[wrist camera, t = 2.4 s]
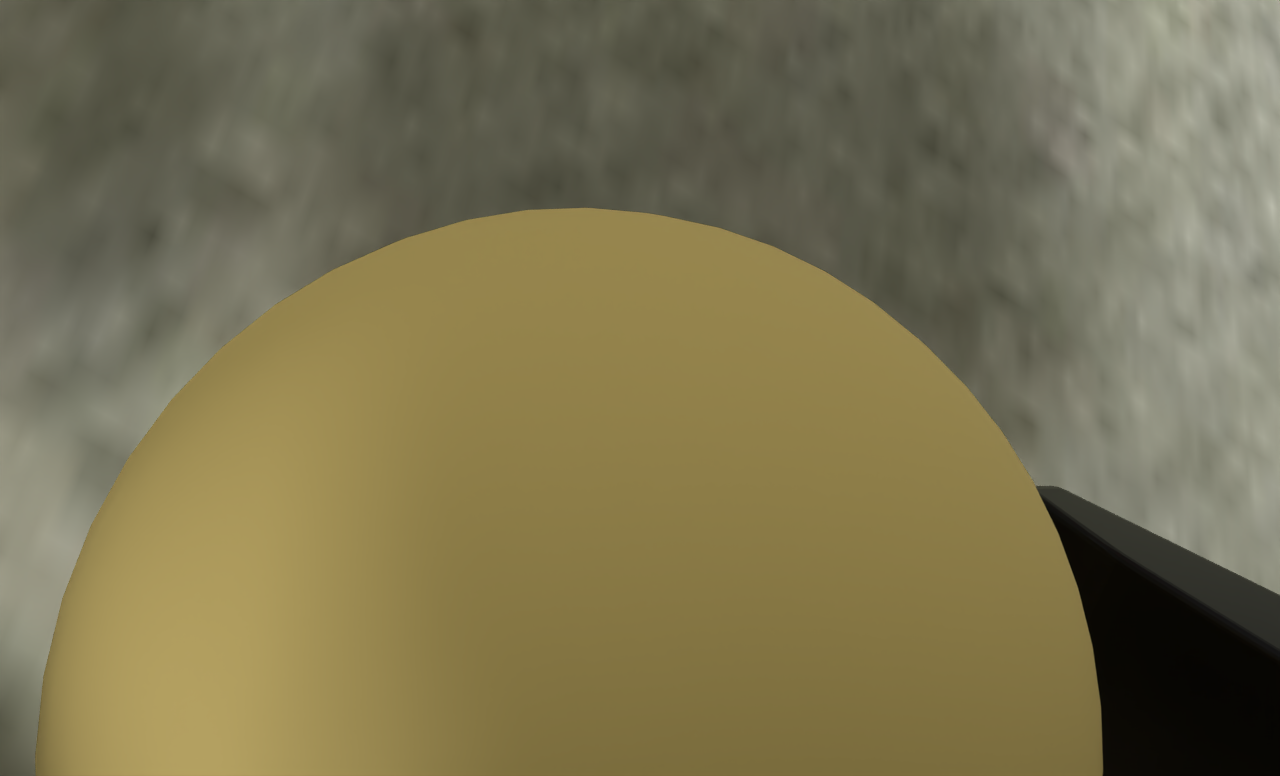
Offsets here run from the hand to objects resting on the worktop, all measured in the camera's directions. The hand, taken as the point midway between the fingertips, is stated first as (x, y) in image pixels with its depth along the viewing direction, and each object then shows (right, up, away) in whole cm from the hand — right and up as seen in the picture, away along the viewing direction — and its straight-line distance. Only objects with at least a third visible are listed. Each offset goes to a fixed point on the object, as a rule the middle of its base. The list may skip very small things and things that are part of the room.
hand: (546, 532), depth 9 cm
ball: (0, -1, -1) cm, 2 cm away
